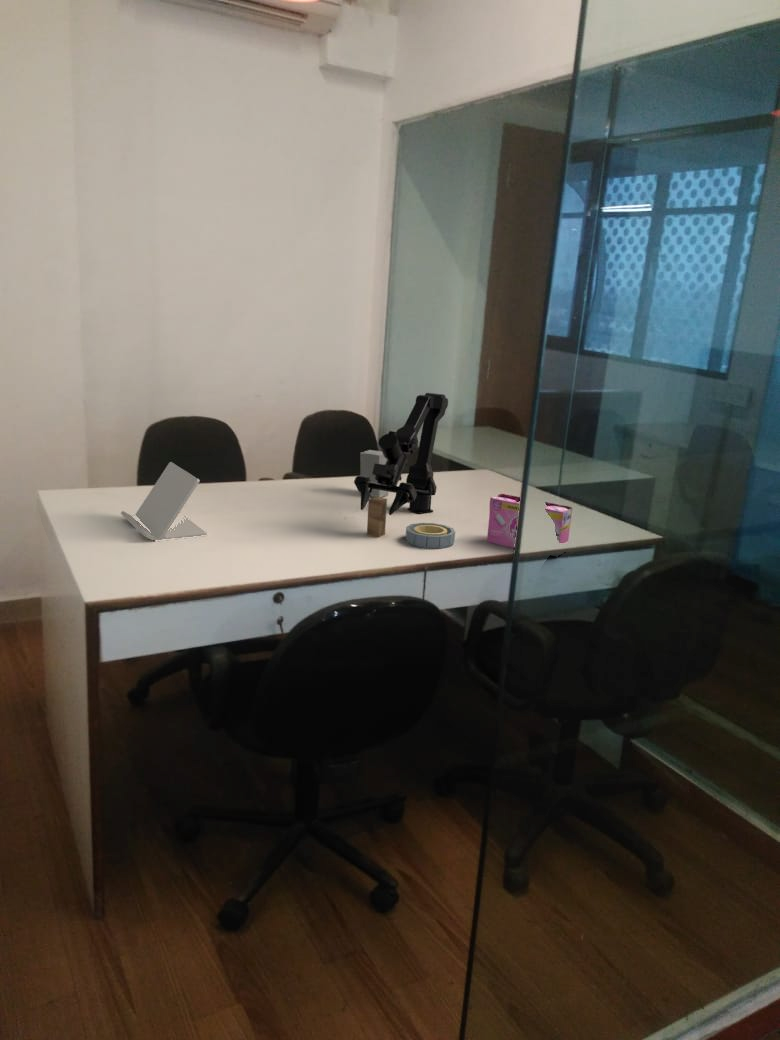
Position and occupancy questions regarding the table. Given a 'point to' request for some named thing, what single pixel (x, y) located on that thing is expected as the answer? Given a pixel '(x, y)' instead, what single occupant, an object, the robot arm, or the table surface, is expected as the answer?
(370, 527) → the brown wooden block
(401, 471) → the robot arm
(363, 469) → the skincare box
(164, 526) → the tablet stand
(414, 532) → the grey round dish
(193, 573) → the table surface
